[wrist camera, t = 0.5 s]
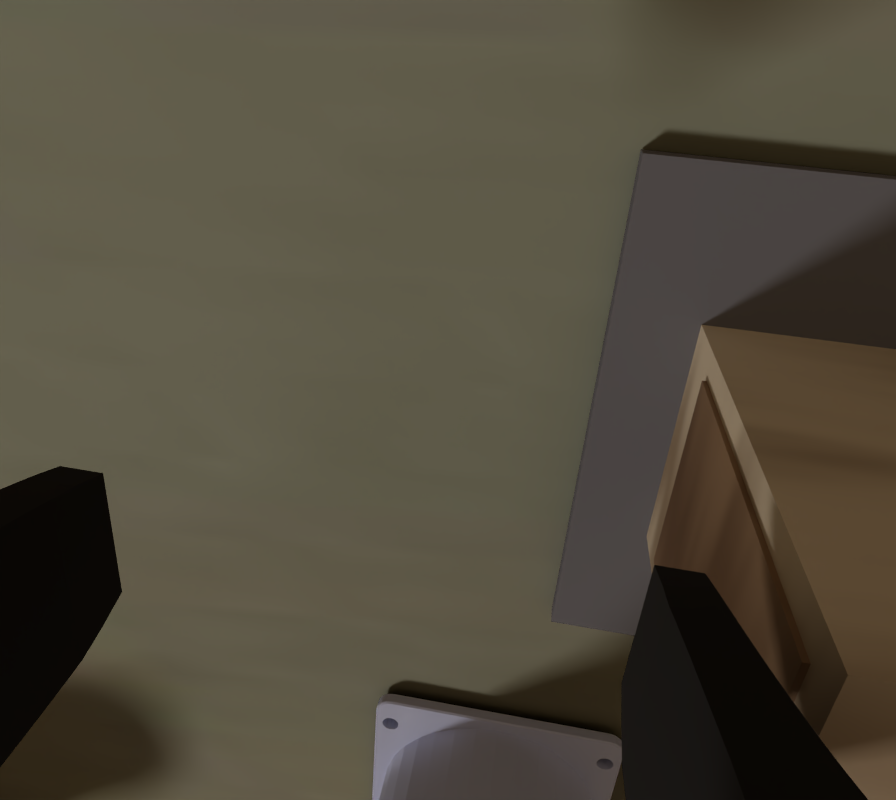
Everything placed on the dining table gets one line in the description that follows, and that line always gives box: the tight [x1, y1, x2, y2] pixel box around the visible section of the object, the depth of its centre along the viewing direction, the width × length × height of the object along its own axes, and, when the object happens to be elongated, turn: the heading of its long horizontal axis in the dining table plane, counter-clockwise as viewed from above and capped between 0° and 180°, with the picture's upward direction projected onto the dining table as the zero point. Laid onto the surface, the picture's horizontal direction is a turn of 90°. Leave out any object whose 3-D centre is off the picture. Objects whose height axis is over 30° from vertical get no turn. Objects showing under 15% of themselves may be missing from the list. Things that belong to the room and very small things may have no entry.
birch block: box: [647, 325, 896, 800], centre depth 13 cm, size 6×6×10 cm
